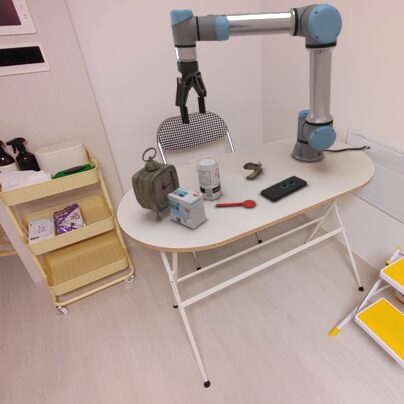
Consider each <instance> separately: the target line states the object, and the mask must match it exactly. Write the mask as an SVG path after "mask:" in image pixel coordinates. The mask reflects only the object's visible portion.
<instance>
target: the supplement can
mask: <svg viewBox="0 0 404 404" xmlns="http://www.w3.org/2000/svg"><path fill="white" fill-rule="evenodd" d="M219 165H220V164H219V162H218V161H217V159H215V158H214V157H204V158H200V159H199V160H198V161H197V164H196V170H197V178H198V184H199V185H198V186H199V193H200V194H203V200H208V201H213V200H216V199H218V198H219V197H220V196H221V195H222V187H221V177H220V167H219Z"/></svg>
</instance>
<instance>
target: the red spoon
mask: <svg viewBox="0 0 404 404" xmlns="http://www.w3.org/2000/svg"><path fill="white" fill-rule="evenodd" d="M215 206H216V207H217V208H221V207H222V208H223V207H237V206H239V207H240V206H243V207H244V208H246V209H253V208H254V207H256V201H255V200H253V199H246V200H244V201H243V202H228V203H227V202H226V203H216V204H215Z"/></svg>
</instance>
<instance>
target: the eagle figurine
mask: <svg viewBox="0 0 404 404" xmlns="http://www.w3.org/2000/svg"><path fill="white" fill-rule="evenodd" d="M242 169H244V170H248V171H252V172H251V173H250V174H248V175H247V176H246V180H251V181H253V180H255V179H256V178H258V177H259V176H261V175H262V174H263V173H264V172H266V170H267V166H266V164H263V163H262V162H260V161H257V163H255V162H252V161H250V162H246V163H245V164H244V165H243V167H242Z"/></svg>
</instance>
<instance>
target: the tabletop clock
mask: <svg viewBox="0 0 404 404" xmlns="http://www.w3.org/2000/svg"><path fill="white" fill-rule="evenodd" d="M151 150H154V154H153V155H149V156H148V159H145V155H146V153H148V152H149V151H151ZM157 152H158V151H157V149H156V148H155V147H152V146H151V147H148V148H147V149H145V150H144V151H143V153H142V155H141V159H142V161H143V162H145V164H144V166H143V167H141V168H140V169H139V170H137V171H136V172H135V173H133V175H132V176H131V186H132V189H133V193H134V197H135V199H136V202H137V203H138V204H139V206H140V207H141V208H142V209H145V210H149V211H154V212H155V213H156V215H157V216H156V217H155V218H156V220H157V221H160V220H161V219H162V217H161V216H160V214H159V213H160V212H164V211H165V210H166V209H168V208H170V205H169V200H168V194H170V193H172V192H173V191H175V190H176V189H178V188H179V187H180V181H179V180H180V179H179V176H178V172H177V168H176V167H175V165H174V164H169V163H163V162H159V161H157V160H155V158H156V156H157Z"/></svg>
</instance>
